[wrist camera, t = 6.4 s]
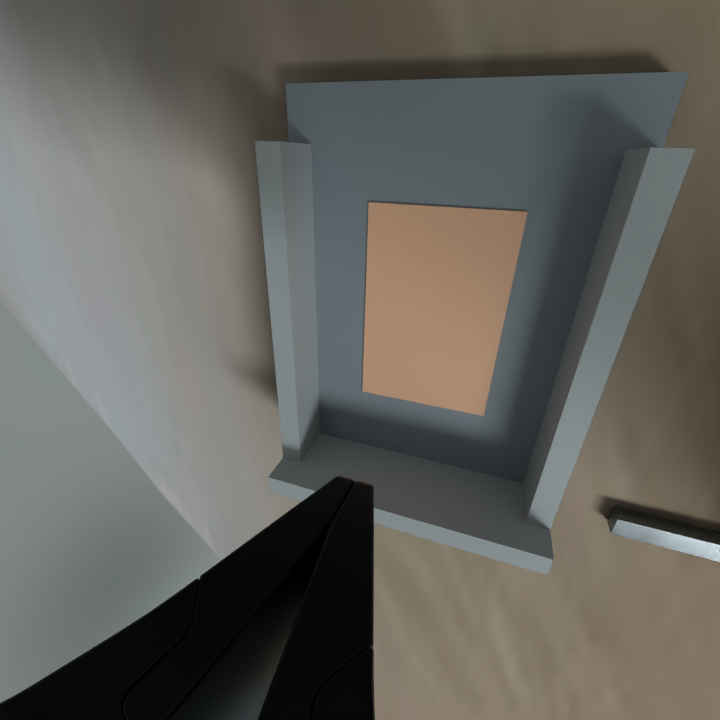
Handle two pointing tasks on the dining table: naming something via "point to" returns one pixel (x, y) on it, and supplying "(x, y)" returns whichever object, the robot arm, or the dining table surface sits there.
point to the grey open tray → (459, 287)
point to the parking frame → (665, 533)
